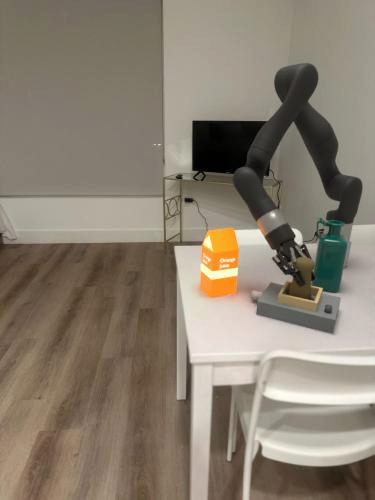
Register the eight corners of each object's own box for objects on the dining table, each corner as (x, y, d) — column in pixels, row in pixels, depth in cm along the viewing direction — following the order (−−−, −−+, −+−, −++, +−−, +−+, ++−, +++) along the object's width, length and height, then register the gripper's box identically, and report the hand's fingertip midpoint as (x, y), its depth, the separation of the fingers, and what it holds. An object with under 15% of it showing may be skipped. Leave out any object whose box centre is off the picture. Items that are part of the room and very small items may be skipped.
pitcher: (338, 283, 120) (350, 219, 113) (339, 293, 113) (352, 226, 105) (307, 278, 123) (317, 216, 115) (306, 288, 115) (316, 222, 108)
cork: (312, 302, 96) (318, 264, 92) (289, 299, 97) (294, 261, 94) (309, 292, 102) (315, 256, 98) (287, 289, 103) (292, 253, 99)
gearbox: (338, 309, 103) (342, 289, 101) (332, 333, 91) (336, 311, 89) (258, 291, 113) (260, 272, 111) (243, 310, 101) (245, 290, 99)
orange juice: (199, 287, 115) (202, 227, 108) (224, 283, 118) (227, 224, 111) (210, 298, 108) (214, 234, 101) (236, 293, 111) (241, 231, 104)
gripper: (269, 227, 93) (304, 284, 89) (299, 218, 103) (332, 270, 99) (251, 241, 99) (284, 296, 95) (280, 231, 108) (311, 281, 104)
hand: (308, 282), depth 97 cm, fingers closed on cork, 4 cm apart
